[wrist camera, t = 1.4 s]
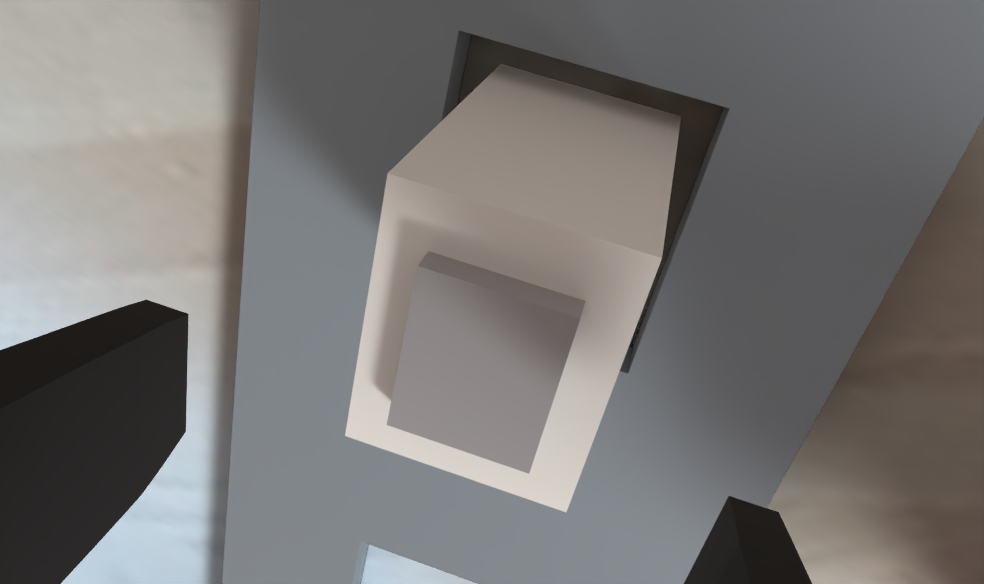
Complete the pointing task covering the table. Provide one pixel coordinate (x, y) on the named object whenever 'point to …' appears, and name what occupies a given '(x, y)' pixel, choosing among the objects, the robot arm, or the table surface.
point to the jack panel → (673, 306)
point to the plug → (512, 281)
